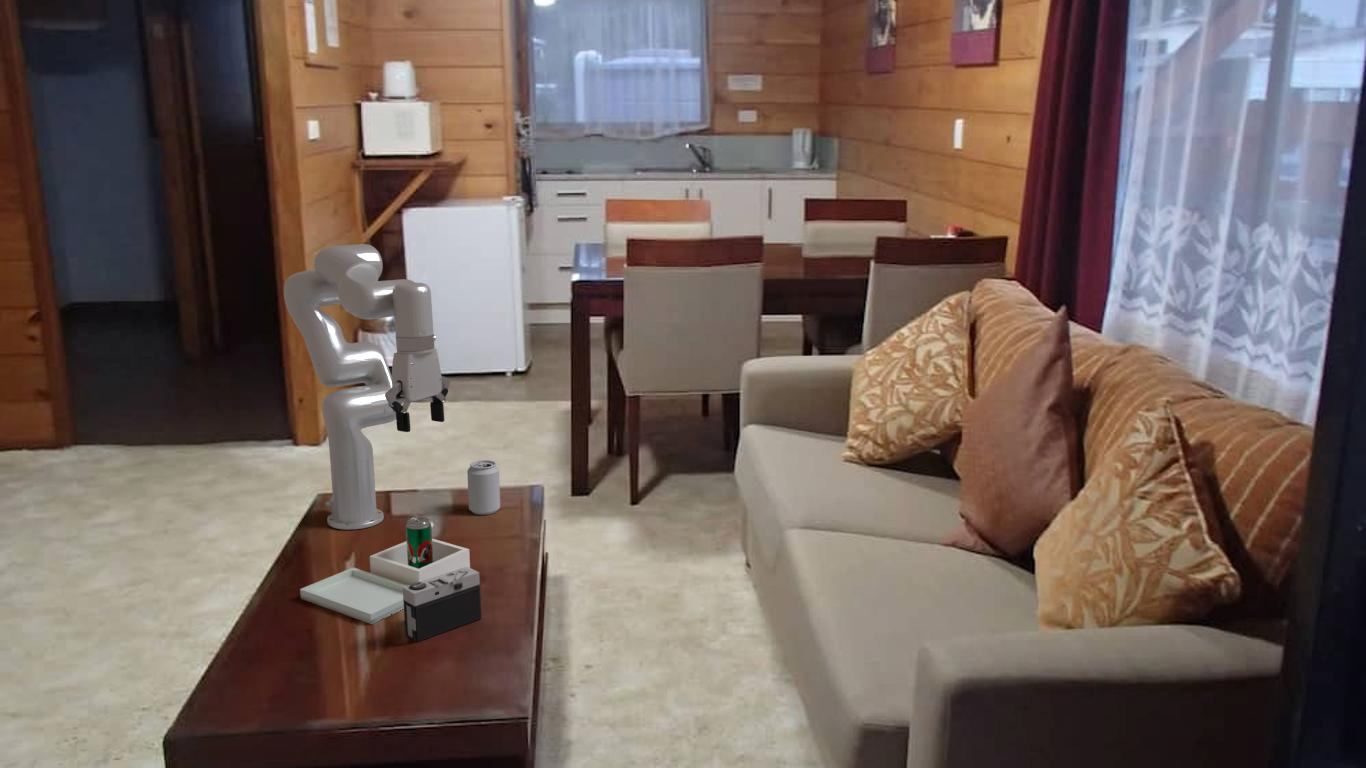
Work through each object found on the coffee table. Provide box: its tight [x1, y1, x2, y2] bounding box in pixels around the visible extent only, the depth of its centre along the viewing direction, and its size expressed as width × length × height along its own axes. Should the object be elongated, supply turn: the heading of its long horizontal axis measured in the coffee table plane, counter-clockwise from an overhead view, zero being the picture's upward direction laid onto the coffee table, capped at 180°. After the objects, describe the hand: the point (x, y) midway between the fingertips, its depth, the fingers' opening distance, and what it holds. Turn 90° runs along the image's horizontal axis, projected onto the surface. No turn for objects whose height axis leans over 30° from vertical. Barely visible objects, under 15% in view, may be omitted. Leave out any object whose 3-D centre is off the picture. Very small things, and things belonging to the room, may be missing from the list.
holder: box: [369, 538, 471, 585], centre depth 220 cm, size 14×14×5 cm
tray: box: [299, 567, 408, 625], centre depth 209 cm, size 20×13×2 cm, turn 57°
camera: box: [403, 567, 482, 643], centre depth 197 cm, size 14×8×10 cm, turn 134°
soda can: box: [405, 516, 433, 569], centre depth 219 cm, size 5×5×12 cm
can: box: [466, 459, 501, 516], centre depth 257 cm, size 8×8×12 cm
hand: (421, 426), depth 221 cm, fingers open, 9 cm apart
